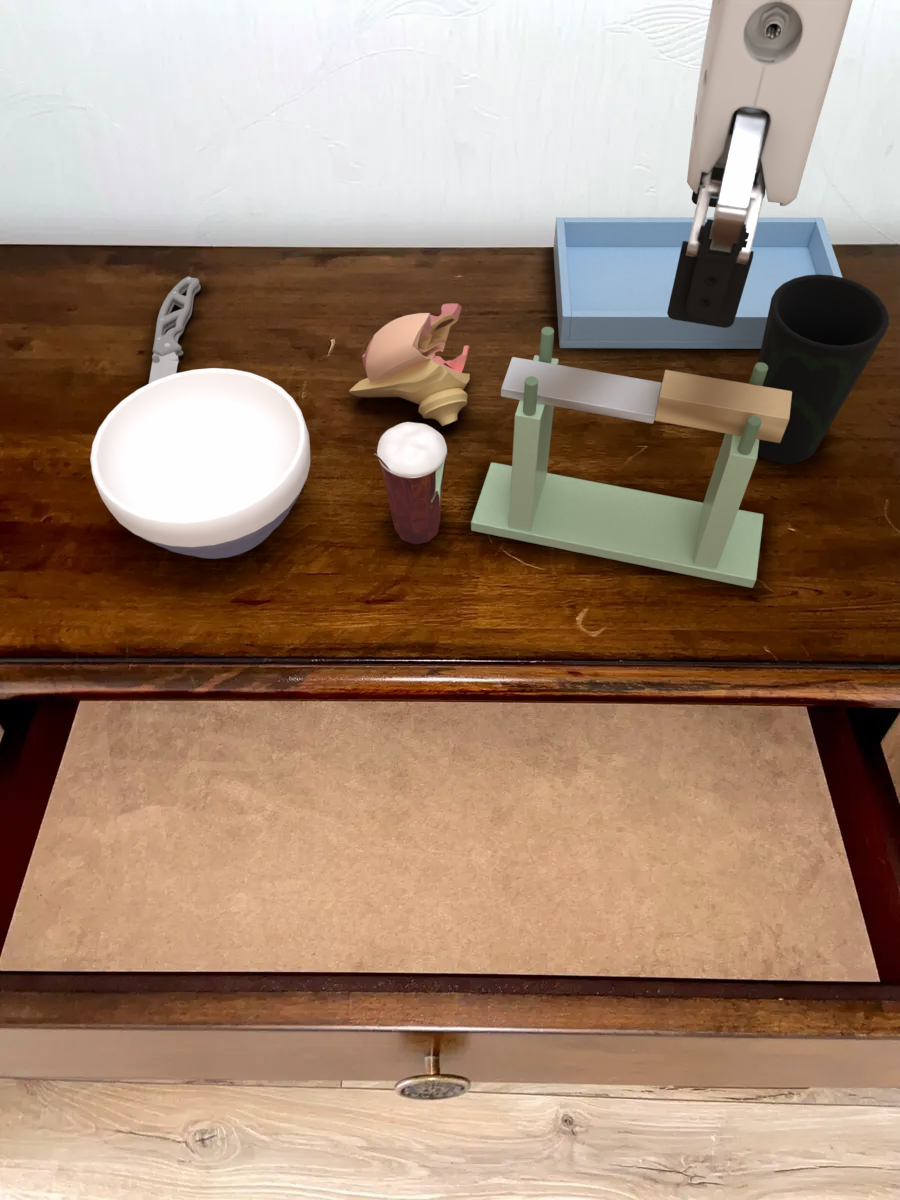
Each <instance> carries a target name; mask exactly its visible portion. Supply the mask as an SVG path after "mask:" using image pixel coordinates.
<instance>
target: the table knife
mask: <svg viewBox="0 0 900 1200" xmlns="http://www.w3.org/2000/svg"><path fill="white" fill-rule="evenodd" d="M530 376H533V377H536V378H537V379H538V391H537V403H540V404H546V405H552V406H554V407H558V408H563V409H569V410H573V411H574V410H575V411H579V412H580V411H581V412H584V413H592V414H596V415H601V416H608V417H613V418H618V419H625V420H630V421H635V422H640V423H641V422H642V423H647V424H652V425H653V424H654V422H660V423H665V424H670V425H671V424H672V425H677V426H681V427H682V426H683V427H689V428H693V429H694V428H695V429H699V430H705V431H710V432H716V433H722V434H725V433H727V434H732V435H738V436H742V434H743V431H744V428H745V425H746V422H747V419H748V418H749V417H750V416H758V417H759V418H760V419H761V421H762V423H761V426H760V428H759V431H758V434H757V437H756V439H760V440H766V441H771V442H777V443H780V442H781V439H782V437H783V434H784V432H785V429H786V427H787V424H788V421H789V418H790V408H791V398H792V391H787V390H781V389H775V388H770V387H764V386H758V385H752V384H749V383H745V382H741V381H740V382H739V381H734V380H728V379H724V378H723V379H722V378H716V377H710V376H704V375H699V374H692V373H688V372H687V373H686V372H682V371H677V370H675V371H674V370H669V369H665V370H664V373H663V378H662V382H661V381H655V380H648V379H642V378H637V377H631V376H626V375H619V374H614V373H608V372H602V371H596V370H591V369H584V368H581V367H580V368H579V367H573V366H569V365H568V366H567V365H562V364H558V365H557V364H551V363H545V362H539V361H533V359H527V358H521V357H516V356H512V357H511V359H510V362H509V366H508V368H507V371H506V373H505V377H504V379H503V382H502V385H501V388H500V396H501V397H502V398H507V399H512V400H519V401H520V400H524V385H525V379H526V378H527V377H530Z"/></svg>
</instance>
